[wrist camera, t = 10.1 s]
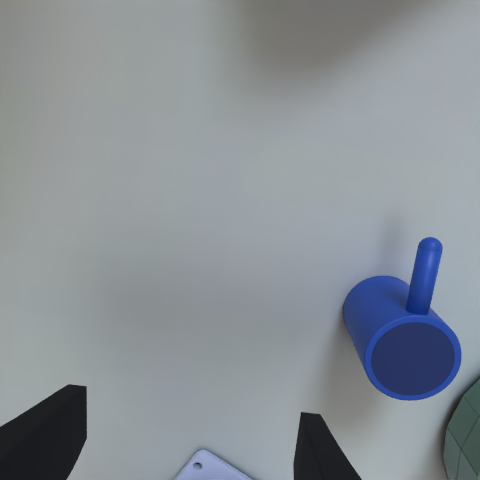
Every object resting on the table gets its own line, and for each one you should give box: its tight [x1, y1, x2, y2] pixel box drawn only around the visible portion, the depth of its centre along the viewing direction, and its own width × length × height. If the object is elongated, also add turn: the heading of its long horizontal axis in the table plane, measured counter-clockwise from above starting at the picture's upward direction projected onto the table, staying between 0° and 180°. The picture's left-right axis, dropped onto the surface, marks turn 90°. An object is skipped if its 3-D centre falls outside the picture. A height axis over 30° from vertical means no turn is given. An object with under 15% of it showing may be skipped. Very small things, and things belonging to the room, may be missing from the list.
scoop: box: [343, 237, 461, 400], centre depth 19 cm, size 7×4×5 cm, turn 175°
